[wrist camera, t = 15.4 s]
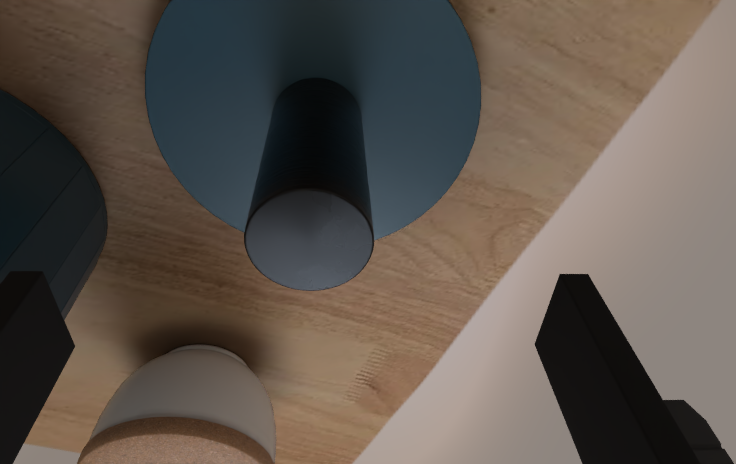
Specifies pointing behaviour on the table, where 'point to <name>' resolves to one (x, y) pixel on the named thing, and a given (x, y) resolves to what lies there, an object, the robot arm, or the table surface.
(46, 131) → the pot
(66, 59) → the table surface
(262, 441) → the trinket box
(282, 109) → the lid
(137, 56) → the table surface
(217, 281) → the table surface
